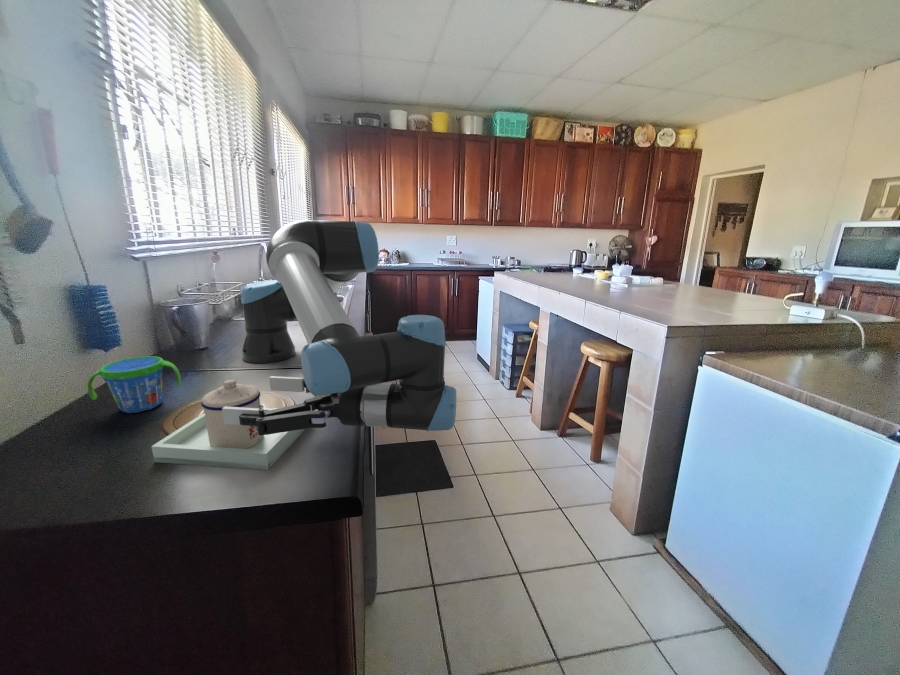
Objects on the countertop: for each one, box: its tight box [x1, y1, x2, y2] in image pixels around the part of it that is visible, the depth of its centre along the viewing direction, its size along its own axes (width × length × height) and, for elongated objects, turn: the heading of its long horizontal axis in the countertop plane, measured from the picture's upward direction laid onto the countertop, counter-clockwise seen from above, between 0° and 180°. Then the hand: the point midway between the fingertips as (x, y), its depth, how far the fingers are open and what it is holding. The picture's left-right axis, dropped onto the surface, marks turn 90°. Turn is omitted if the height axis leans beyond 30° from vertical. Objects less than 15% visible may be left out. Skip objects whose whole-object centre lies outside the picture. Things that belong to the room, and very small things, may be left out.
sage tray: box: [150, 406, 306, 471], centre depth 70 cm, size 16×20×3 cm
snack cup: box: [87, 355, 182, 414], centre depth 82 cm, size 16×10×10 cm
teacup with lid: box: [200, 379, 263, 449], centre depth 68 cm, size 12×9×12 cm
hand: (249, 397), depth 67 cm, fingers open, 13 cm apart
